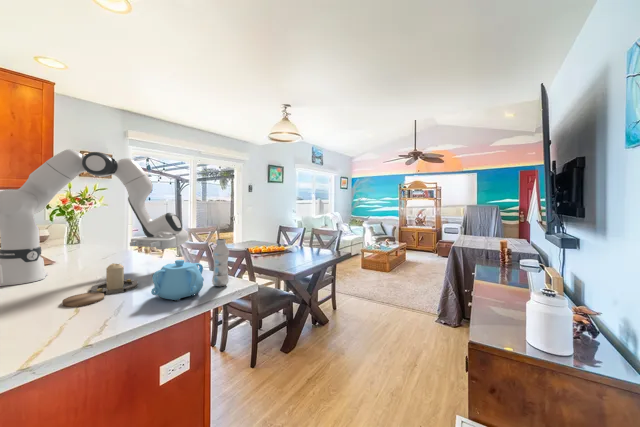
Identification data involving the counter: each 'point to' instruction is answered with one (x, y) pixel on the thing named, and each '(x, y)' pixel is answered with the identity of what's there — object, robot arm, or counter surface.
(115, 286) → the candle
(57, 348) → the counter surface
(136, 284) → the collar
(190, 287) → the decorative pot
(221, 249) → the plastic bottle
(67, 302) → the coaster
